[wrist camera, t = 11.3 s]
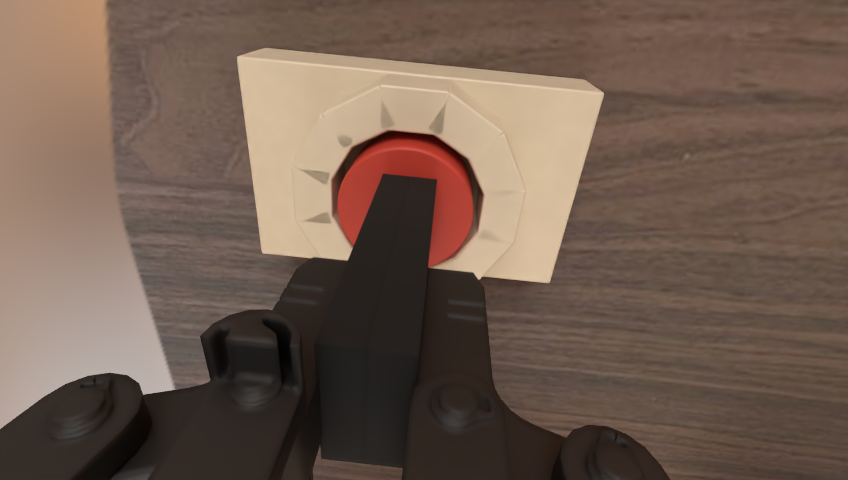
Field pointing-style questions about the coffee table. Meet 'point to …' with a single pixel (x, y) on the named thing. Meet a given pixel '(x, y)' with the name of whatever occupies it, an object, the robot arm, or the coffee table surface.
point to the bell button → (415, 160)
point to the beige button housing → (425, 114)
